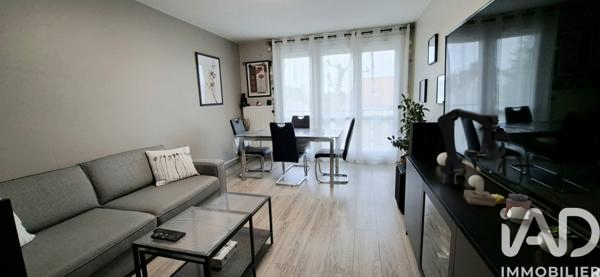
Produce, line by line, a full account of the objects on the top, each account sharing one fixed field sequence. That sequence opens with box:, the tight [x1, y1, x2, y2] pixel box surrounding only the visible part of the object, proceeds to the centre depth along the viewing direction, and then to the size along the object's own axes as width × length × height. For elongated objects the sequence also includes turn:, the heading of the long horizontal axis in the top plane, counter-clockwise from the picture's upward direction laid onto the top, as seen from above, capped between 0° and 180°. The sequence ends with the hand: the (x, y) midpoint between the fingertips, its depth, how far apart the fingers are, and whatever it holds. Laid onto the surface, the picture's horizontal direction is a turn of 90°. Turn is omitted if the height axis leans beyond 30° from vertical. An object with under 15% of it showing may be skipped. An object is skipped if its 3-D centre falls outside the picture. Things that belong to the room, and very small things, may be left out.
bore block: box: [463, 189, 496, 207], centre depth 121 cm, size 9×10×4 cm
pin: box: [475, 181, 485, 196], centre depth 120 cm, size 3×3×8 cm
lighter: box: [504, 193, 532, 218], centre depth 104 cm, size 8×3×10 cm, turn 71°
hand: (486, 171), depth 126 cm, fingers open, 9 cm apart
